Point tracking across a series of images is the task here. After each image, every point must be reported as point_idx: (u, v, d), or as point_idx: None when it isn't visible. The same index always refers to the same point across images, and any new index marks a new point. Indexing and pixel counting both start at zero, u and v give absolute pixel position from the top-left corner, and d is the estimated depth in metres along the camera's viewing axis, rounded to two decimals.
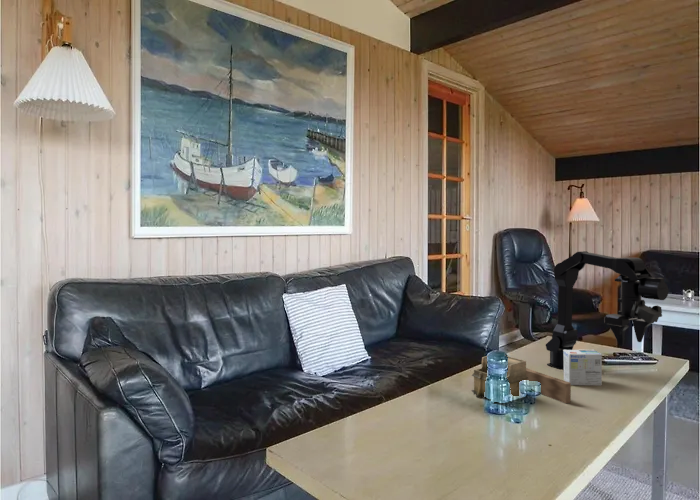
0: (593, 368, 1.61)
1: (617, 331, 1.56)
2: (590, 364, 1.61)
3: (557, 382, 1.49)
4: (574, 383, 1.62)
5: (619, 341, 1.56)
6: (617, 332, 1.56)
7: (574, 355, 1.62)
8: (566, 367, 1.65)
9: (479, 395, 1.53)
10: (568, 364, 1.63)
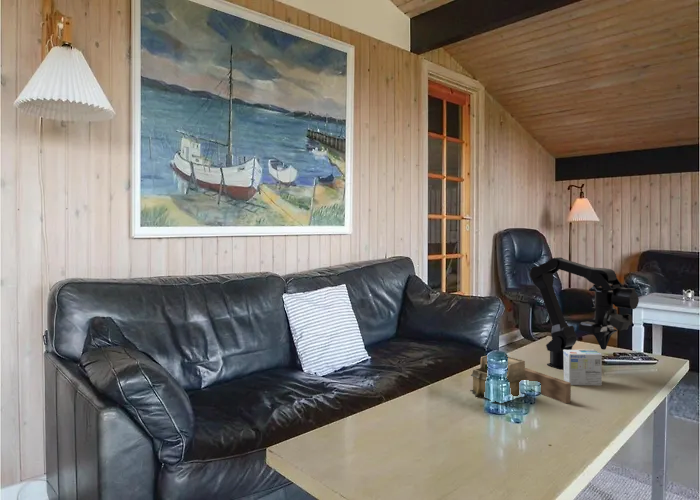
0: (593, 368, 1.61)
1: (599, 336, 1.69)
2: (590, 364, 1.61)
3: (557, 382, 1.49)
4: (574, 383, 1.62)
5: (601, 345, 1.69)
6: (599, 337, 1.69)
7: (574, 355, 1.62)
8: (566, 367, 1.65)
9: (478, 395, 1.53)
10: (568, 364, 1.63)
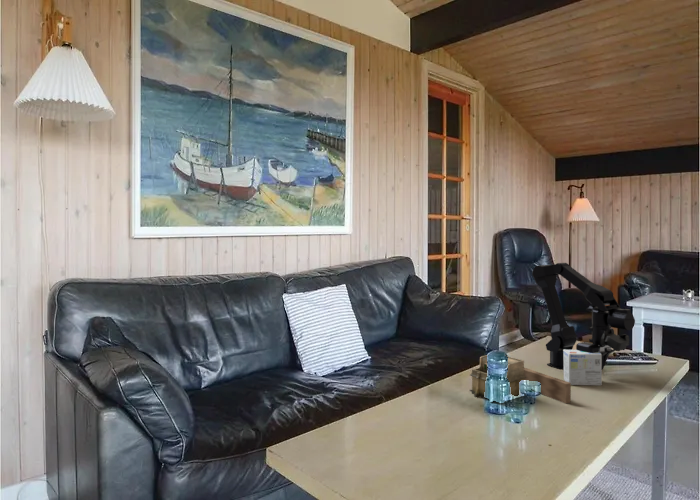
0: (593, 368, 1.61)
1: None
2: (590, 364, 1.61)
3: (557, 382, 1.49)
4: (574, 383, 1.62)
5: None
6: None
7: (574, 355, 1.62)
8: (566, 367, 1.65)
9: (477, 395, 1.53)
10: (568, 364, 1.63)
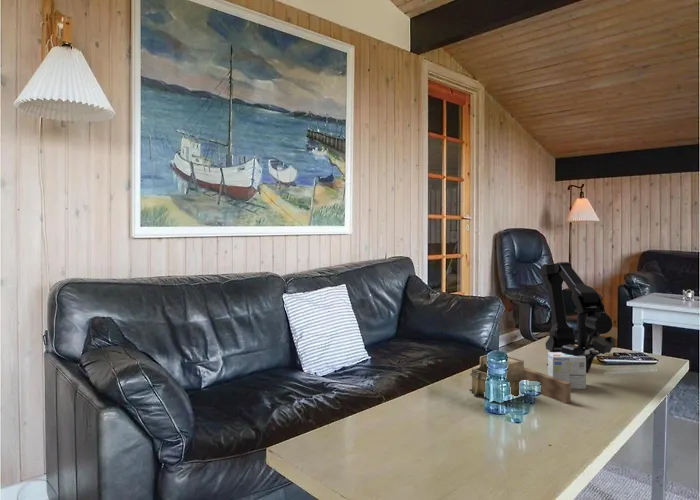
0: (578, 371, 1.58)
1: None
2: (574, 367, 1.58)
3: (557, 382, 1.49)
4: None
5: None
6: None
7: (558, 358, 1.58)
8: (550, 370, 1.62)
9: (477, 394, 1.53)
10: (552, 367, 1.60)
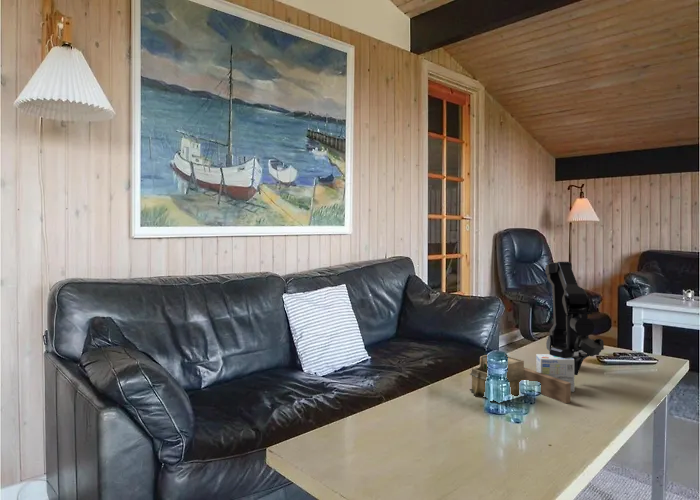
0: (566, 373, 1.56)
1: None
2: (562, 369, 1.56)
3: (557, 382, 1.49)
4: None
5: None
6: None
7: (546, 360, 1.56)
8: None
9: (476, 394, 1.54)
10: (540, 369, 1.58)
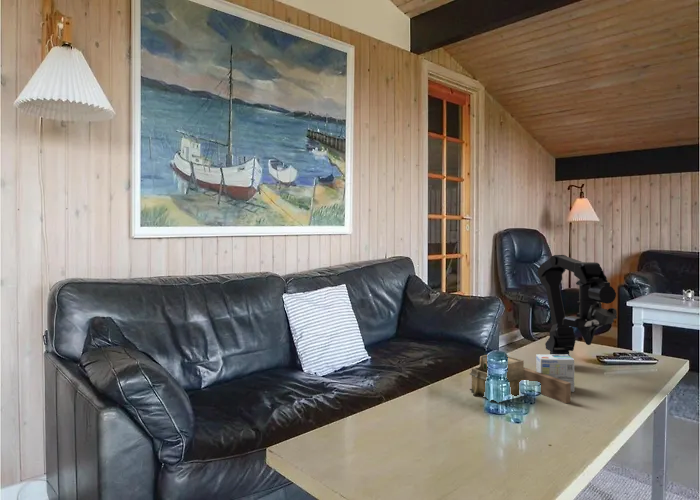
0: (566, 373, 1.56)
1: (584, 331, 1.65)
2: (562, 369, 1.56)
3: (557, 382, 1.49)
4: None
5: (586, 341, 1.66)
6: (584, 332, 1.65)
7: (546, 360, 1.56)
8: None
9: (476, 393, 1.54)
10: (540, 369, 1.58)
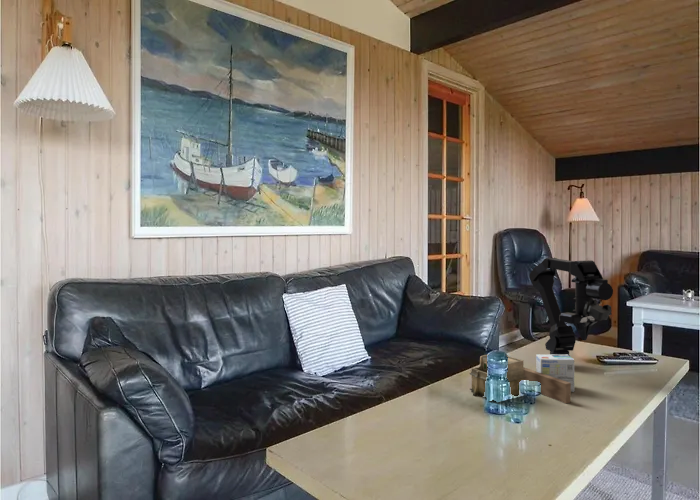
0: (566, 373, 1.56)
1: (580, 327, 1.70)
2: (562, 369, 1.56)
3: (557, 382, 1.49)
4: None
5: (582, 336, 1.71)
6: (580, 328, 1.70)
7: (546, 360, 1.56)
8: None
9: (476, 393, 1.54)
10: (540, 369, 1.58)
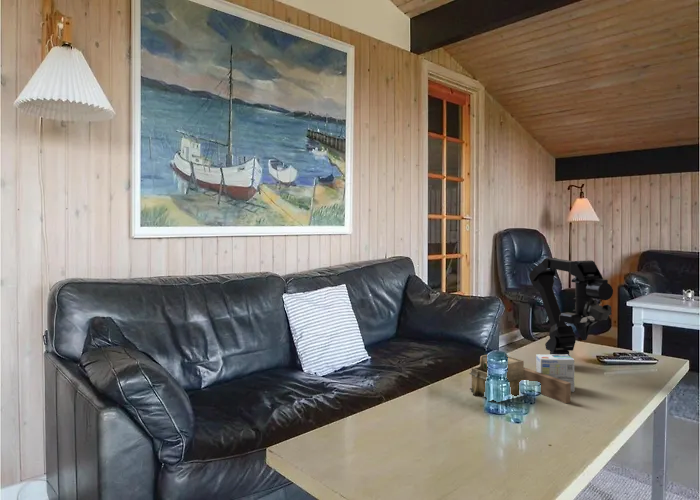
0: (566, 373, 1.56)
1: (580, 327, 1.70)
2: (562, 369, 1.56)
3: (557, 382, 1.49)
4: None
5: (582, 336, 1.71)
6: (580, 328, 1.70)
7: (546, 360, 1.56)
8: None
9: (476, 393, 1.54)
10: (540, 369, 1.58)
